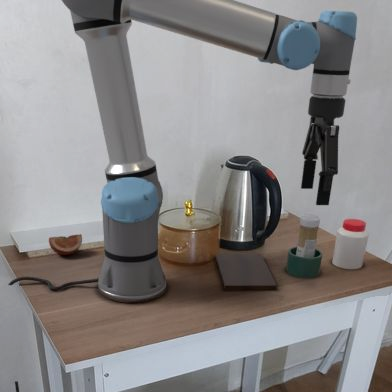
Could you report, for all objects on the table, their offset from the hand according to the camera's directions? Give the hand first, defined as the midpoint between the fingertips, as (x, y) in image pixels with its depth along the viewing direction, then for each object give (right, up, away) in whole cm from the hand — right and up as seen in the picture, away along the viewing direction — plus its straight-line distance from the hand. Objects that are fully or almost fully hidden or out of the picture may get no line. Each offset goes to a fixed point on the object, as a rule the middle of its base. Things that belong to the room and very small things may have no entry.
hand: (314, 196), depth 128 cm
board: (-16, -17, +7) cm, 24 cm away
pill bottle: (+12, -13, +15) cm, 23 cm away
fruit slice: (-61, -11, +14) cm, 63 cm away
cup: (-1, -16, +10) cm, 19 cm away
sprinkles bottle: (-1, -16, +10) cm, 19 cm away
